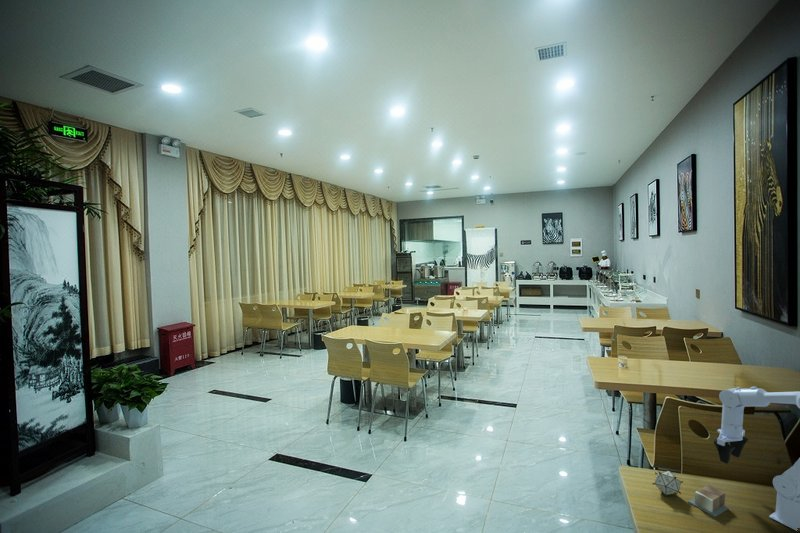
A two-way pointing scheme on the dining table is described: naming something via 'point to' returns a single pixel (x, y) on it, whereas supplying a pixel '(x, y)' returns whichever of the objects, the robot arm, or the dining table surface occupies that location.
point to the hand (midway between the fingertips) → (729, 459)
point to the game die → (667, 483)
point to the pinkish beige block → (709, 498)
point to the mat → (714, 513)
